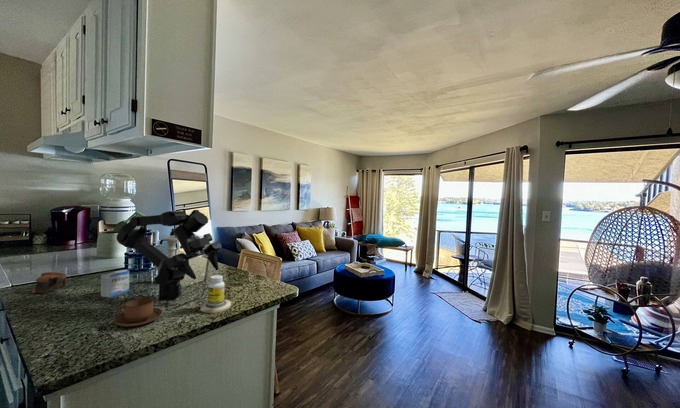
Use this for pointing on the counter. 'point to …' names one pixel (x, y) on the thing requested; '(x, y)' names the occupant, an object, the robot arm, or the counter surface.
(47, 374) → the counter surface
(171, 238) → the candle holder
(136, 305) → the cup and saucer
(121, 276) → the medicine box
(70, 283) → the counter surface
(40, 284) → the reddish brown angular block
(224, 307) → the round plate
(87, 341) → the counter surface
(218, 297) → the supplement bottle
